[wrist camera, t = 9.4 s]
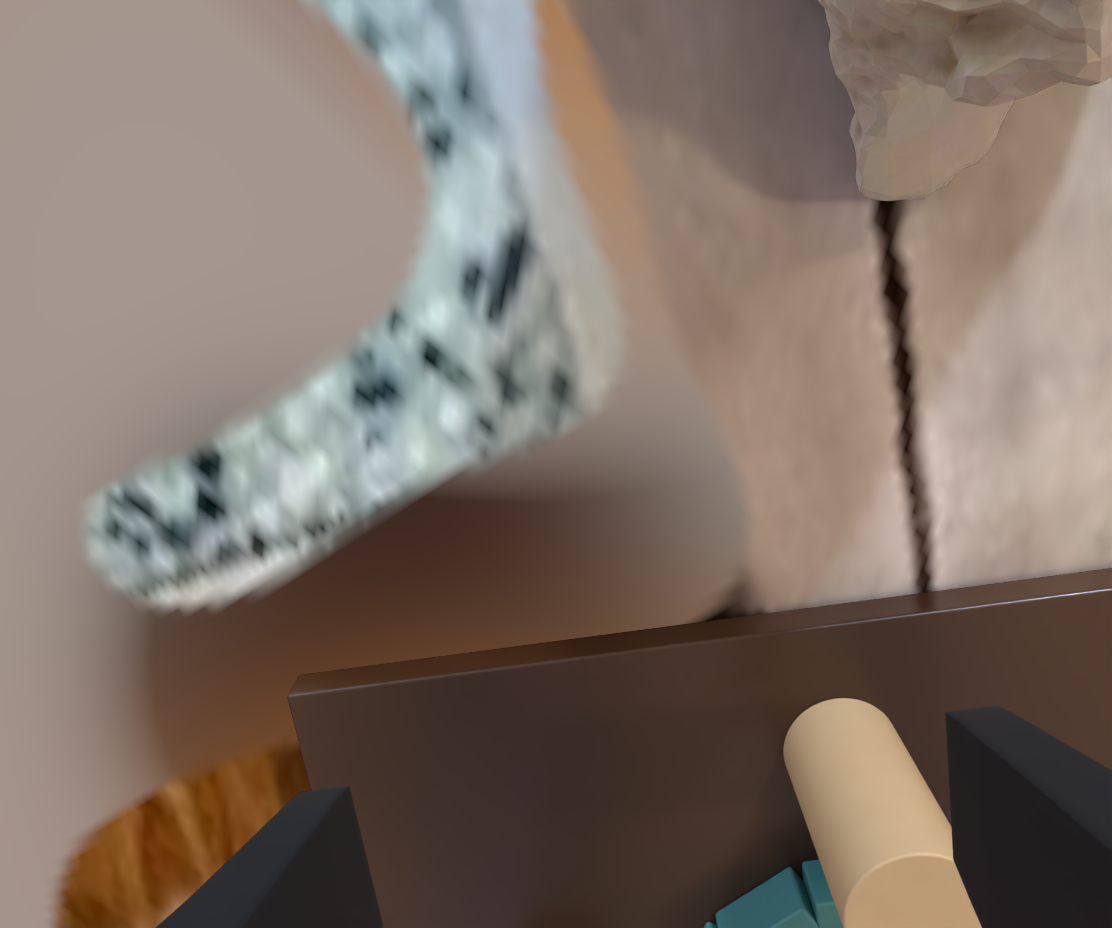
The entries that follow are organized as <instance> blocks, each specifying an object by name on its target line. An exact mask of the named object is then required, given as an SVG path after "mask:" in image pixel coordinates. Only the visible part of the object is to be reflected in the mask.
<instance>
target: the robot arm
mask: <svg viewBox="0 0 1112 928" xmlns="http://www.w3.org/2000/svg"><path fill="white" fill-rule="evenodd" d="M945 715H946V733H947V752H948V771H949V790H950V808H951V827H952V846H953V860H954V863H955V865H956V867H957V870H958V872H959V875H960V877H961V880H962V882H963V884H964V887H965V889H966V892H967V894H968V897H969V899H970V901H971V904H972V906H973V908H974V911H975V913H976V915H977V918H978V920H979V922H980V924H981V927H982V928H1112V770H1110V769H1109V768H1107V767H1105V766H1103V765H1102V764H1100V763H1098V762H1096V761H1095V760H1093V759H1091V758H1090V757H1088V756H1086V755H1084V754H1083V753H1081V752H1079V751H1078V750H1076V749H1074V748H1072V747H1071V746H1069V745H1067V744H1066V743H1064V742H1062V741H1060V740H1059V739H1057V738H1055V737H1054V736H1052V735H1050V734H1048V733H1047V732H1045V731H1043V730H1042V729H1040V728H1038V727H1036V726H1035V725H1033V724H1031V723H1029V722H1028V721H1026V720H1024V719H1022V718H1021V717H1019V716H1017V715H1015V714H1013V713H1012V712H1010V711H1008V710H1006V709H1004V708H1002V707H1000V706H992V707H984V708H976V709H968V710H960V711H952V712H945ZM156 928H383V922H382V918H381V914H380V910H379V906H378V902H377V897H376V893H375V889H374V885H373V881H372V877H371V873H370V869H369V865H368V861H367V856H366V852H365V848H364V844H363V840H362V836H361V832H360V828H359V824H358V820H357V815H356V811H355V807H354V803H353V799H352V795H351V791H350V787H349V786H343V787H335V788H327V789H319V790H311V791H303V792H300V793H299V794H298V795H297V796H296V797H294V798H293V799H292V800H291V801H290V802H289V803H287V804H286V805H285V806H284V807H283V808H282V809H281V810H280V811H279V812H278V813H277V814H276V815H275V816H274V817H273V818H271V819H270V820H269V821H268V822H267V823H266V824H265V825H264V826H263V827H262V828H261V829H260V830H259V831H258V832H257V833H256V834H255V835H254V836H253V837H252V838H251V839H250V840H249V841H248V842H247V843H246V844H245V845H244V846H243V847H242V848H241V849H240V850H239V851H238V852H237V853H236V854H235V855H233V856H232V857H231V858H230V859H229V860H228V861H227V862H226V863H225V864H224V865H223V866H222V867H221V868H220V869H219V870H218V871H217V872H216V873H215V874H214V875H213V876H212V877H211V878H210V879H208V880H207V881H206V882H205V883H204V884H203V885H202V886H201V887H200V888H199V889H198V890H197V891H196V892H195V893H194V894H193V895H192V896H191V897H190V898H189V899H188V900H186V901H185V902H184V903H183V904H182V905H181V906H180V907H179V908H177V909H176V910H175V911H174V912H173V913H172V914H171V915H170V916H168V917H167V918H166V919H165V920H164V921H163V922H162V923H161V924H159V925H158V926H157V927H156Z"/></svg>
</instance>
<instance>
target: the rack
mask: <svg viewBox="0 0 1112 928" xmlns="http://www.w3.org/2000/svg"><path fill="white" fill-rule="evenodd" d="M836 698H851V699H857V700H861V701H864V702H867V703H869V704H871V705H873V706H875V707H876V708H878V709H879V710H880V711H882V712H883V713H884V714H885V715H886V716H887V717H888V719H889V720H890V722H891V723H892V725H893V727H894V728H895V730H896V732H897V733H898V735H899V737H900V739H901V740H902V742H903V744H904V746H905V747H906V749H907V751H908V753H909V754H910V756H911V758H912V759H913V761H914V763H915V765H916V766H917V768H918V770H919V772H920V773H921V775H922V777H923V779H924V780H925V782H926V784H927V785H928V787H929V789H930V791H931V792H932V794H933V796H934V798H935V799H936V801H937V803H938V804H939V806H940V808H941V810H942V811H943V813H944V815H945V817H946V818H947V820H948V822H949V824H950V825H951V808H950V790H949V771H948V752H947V733H946V715H945V712H952V711H960V710H968V709H976V708H984V707H992V706H1000V707H1002V708H1004V709H1006V710H1008V711H1010V712H1012V713H1013V714H1015V715H1017V716H1019V717H1021V718H1022V719H1024V720H1026V721H1028V722H1029V723H1031V724H1033V725H1035V726H1036V727H1038V728H1040V729H1042V730H1043V731H1045V732H1047V733H1048V734H1050V735H1052V736H1054V737H1055V738H1057V739H1059V740H1060V741H1062V742H1064V743H1066V744H1067V745H1069V746H1071V747H1072V748H1074V749H1076V750H1078V751H1079V752H1081V753H1083V754H1084V755H1086V756H1088V757H1090V758H1091V759H1093V760H1095V761H1096V762H1098V763H1100V764H1102V765H1103V766H1105V767H1107V768H1109V769H1110V770H1112V568H1109V569H1102V570H1094V571H1087V572H1079V573H1071V574H1064V575H1056V576H1048V577H1041V578H1033V579H1026V580H1018V581H1010V582H1003V583H995V584H988V585H980V586H972V587H965V588H957V589H949V590H942V591H934V592H927V593H919V594H911V595H904V596H896V597H889V598H881V599H873V600H866V601H858V602H851V603H843V604H835V605H828V606H820V607H812V608H805V609H797V610H790V611H782V612H774V613H767V614H759V615H752V616H744V617H736V618H729V619H721V620H713V621H706V622H698V623H691V624H683V625H675V626H668V627H660V628H653V629H645V630H637V631H630V632H622V633H615V634H608V635H599V636H592V637H584V638H577V639H569V640H561V641H554V642H547V643H539V644H531V645H523V646H516V647H508V648H500V649H493V650H485V651H478V652H470V653H462V654H456V655H447V656H439V657H432V658H424V659H416V660H409V661H401V662H394V663H386V664H379V665H371V666H363V667H356V668H349V669H340V670H333V671H326V672H318V673H310V674H302V675H300V676H299V677H298V678H297V680H296V682H295V684H294V685H293V687H292V689H291V691H290V692H289V694H288V702H289V705H290V709H291V713H292V717H293V721H294V725H295V729H296V733H297V737H298V741H299V744H300V748H301V752H302V756H303V760H304V764H305V768H306V772H307V776H308V780H309V783H310V787H311V790H319V789H327V788H335V787H343V786H349V787H350V791H351V795H352V799H353V803H354V807H355V811H356V815H357V820H358V824H359V828H360V832H361V836H362V840H363V844H364V848H365V852H366V856H367V861H368V865H369V869H370V873H371V877H372V881H373V885H374V889H375V893H376V897H377V902H378V906H379V910H380V914H381V918H382V922H383V928H704V926H705V924H706V922H711V923H714V924H717V922H716V916H715V914H716V913H717V912H718V911H719V910H721V909H722V908H724V907H726V906H727V905H729V904H730V903H732V902H733V901H735V900H737V899H738V898H740V897H741V896H743V895H745V894H746V893H748V892H749V891H751V890H753V889H754V888H756V887H757V886H759V885H761V884H762V883H764V882H765V881H767V880H769V879H770V878H772V877H773V876H775V875H776V874H778V873H780V872H781V871H783V870H784V869H786V868H788V867H791V868H793V869H794V871H795V872H796V873H797V874H798V875H799V876H800V878H801V879H802V880H803V871H802V864H803V862H804V861H812V860H819V858H818V855H817V852H816V849H815V847H814V844H813V841H812V838H811V835H810V832H809V830H808V827H807V824H806V821H805V818H804V815H803V813H802V810H801V807H800V804H799V801H798V798H797V796H796V793H795V790H794V787H793V784H792V781H791V779H790V776H789V773H788V770H787V767H786V764H785V761H784V753H783V748H784V742H785V738H786V735H787V733H788V730H789V728H790V727H791V725H792V724H793V722H794V721H795V720H796V719H797V717H799V716H800V715H801V714H802V713H803V712H804V711H805V710H807V709H808V708H810V707H812V706H813V705H815V704H818V703H820V702H823V701H826V700H830V699H836Z"/></svg>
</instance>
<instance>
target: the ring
mask: <svg viewBox="0 0 1112 928" xmlns="http://www.w3.org/2000/svg"><path fill="white" fill-rule="evenodd" d="M783 753H784V761H785V764H786V767H787V770H788V773H789V776H790V779H791V781H792V784H793V787H794V790H795V793H796V796H797V798H798V801H799V804H800V807H801V810H802V813H803V815H804V818H805V821H806V824H807V827H808V830H809V832H810V835H811V838H812V841H813V844H814V847H815V849H816V852H817V855H818V858H819V860H812V861H804V862H803V864H802V871H803V880H802V879H801V878H800V876H799V875H798V874H797V873H796V872H795V871H794V869H793V868H791V867H788V868H786V869H784V870H783V871H781V872H780V873H778V874H776V875H775V876H773V877H772V878H770V879H769V880H767V881H765V882H764V883H762V884H761V885H759V886H757V887H756V888H754V889H753V890H751V891H749V892H748V893H746V894H745V895H743V896H741V897H740V898H738V899H737V900H735V901H733V902H732V903H730V904H729V905H727V906H726V907H724V908H722V909H721V910H719V911H718V912H717V913H716V914H715V916H716V922H717V924H714V923H711V922H706V924H705V926H704V928H982V927H981V924H980V922H979V920H978V918H977V915H976V913H975V911H974V908H973V906H972V904H971V901H970V899H969V897H968V894H967V892H966V889H965V887H964V884H963V882H962V880H961V877H960V875H959V872H958V870H957V867H956V865H955V863H954V860H953V846H952V827H951V825H950V824H949V822H948V820H947V818H946V817H945V815H944V813H943V811H942V810H941V808H940V806H939V804H938V803H937V801H936V799H935V798H934V796H933V794H932V792H931V791H930V789H929V787H928V785H927V784H926V782H925V780H924V779H923V777H922V775H921V773H920V772H919V770H918V768H917V766H916V765H915V763H914V761H913V759H912V758H911V756H910V754H909V753H908V751H907V749H906V747H905V746H904V744H903V742H902V740H901V739H900V737H899V735H898V733H897V732H896V730H895V728H894V727H893V725H892V723H891V722H890V720H889V719H888V717H887V716H886V715H885V714H884V713H883V712H882V711H880V710H879V709H878V708H876V707H875V706H873V705H871V704H869V703H867V702H864V701H861V700H857V699H851V698H836V699H830V700H826V701H823V702H820V703H818V704H815V705H813V706H812V707H810V708H808V709H807V710H805V711H804V712H803V713H802V714H801V715H800V716H799V717H797V719H796V720H795V721H794V722H793V724H792V725H791V727H790V728H789V730H788V733H787V735H786V738H785V742H784V748H783Z"/></svg>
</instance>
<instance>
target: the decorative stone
mask: <svg viewBox="0 0 1112 928" xmlns="http://www.w3.org/2000/svg"><path fill="white" fill-rule="evenodd" d="M818 1H819V3H820V5H822V6H823V7H824V8H825V13H826V18H827V23H828V25H829V28H830V41H829V44H828V46H829V52H830V57H831V62H832V65H833V68H834V71H835V74H836V76H837V77H838V78H839V79H840V80H841V81H842V82H843V84H844V86H845V88H846V90H847V92H848V94H849V97H850V99H851V102H852V104H853V107H854V110H855V113H854V116H853V118H852V121H851V125H850V130H849V132H850V135H851V138H852V141H853V144H854V146H855V151H856V182H857V185H858V189H859V192H860V193H861V194H863V195H864V196H865V197H867V198H870V199H874V200H882V201H894V200H903V199H925V198H926V197H927V196H929V195H930V194H931V193H933V192H934V191H935V190H937V189H940V188H942V187H944V186H945V185H947V184H948V183H949V182H950V181H951V180H952V179H953V177H954V176H955V175H956V174H957V172H958V171H960V170H961V169H964V168H967V167H969V166H972V165H975V164H976V163H977V162H978V161H979V160H981V159H982V158H983V157H984V156H985V155H986V154H987V152H988V151H989V149H990V148H991V146H992V144H993V143H994V141H995V139H996V138H997V136H998V132H999V129H1000V126H1001V123H1002V121H1003V120H1004V118H1005V116H1006V114H1007V113H1008V111H1009V109H1010V107H1011V105H1012V104H1013V102H1014V100H1015V99H1019V98H1022V97H1026V96H1029V95H1032V94H1034V93H1036V92H1038V91H1041V90H1043V89H1045V88H1047V87H1049V86H1051V85H1054V84H1056V83H1058V82H1060V81H1063V82H1069V83H1074V84H1080V85H1086V86H1091V85H1095V84H1098V83H1101V82H1103V81H1105V80H1107V79H1108V78H1110V77H1112V0H818Z"/></svg>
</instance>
